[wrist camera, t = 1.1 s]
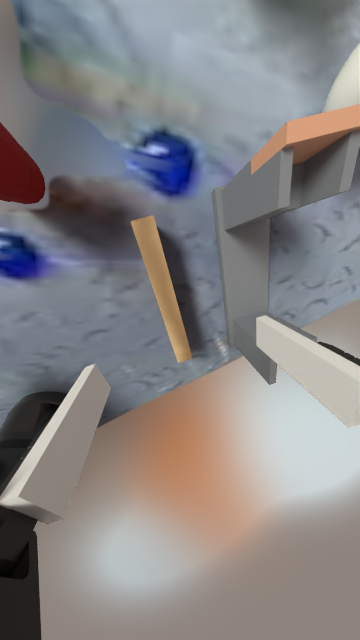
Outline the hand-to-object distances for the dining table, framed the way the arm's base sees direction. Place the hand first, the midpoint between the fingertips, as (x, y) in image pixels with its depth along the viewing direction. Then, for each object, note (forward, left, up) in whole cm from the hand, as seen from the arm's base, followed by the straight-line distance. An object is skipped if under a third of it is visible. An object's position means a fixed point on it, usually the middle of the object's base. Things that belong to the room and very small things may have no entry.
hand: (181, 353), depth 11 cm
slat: (0, 0, -19) cm, 19 cm away
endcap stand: (+16, 0, -18) cm, 24 cm away
